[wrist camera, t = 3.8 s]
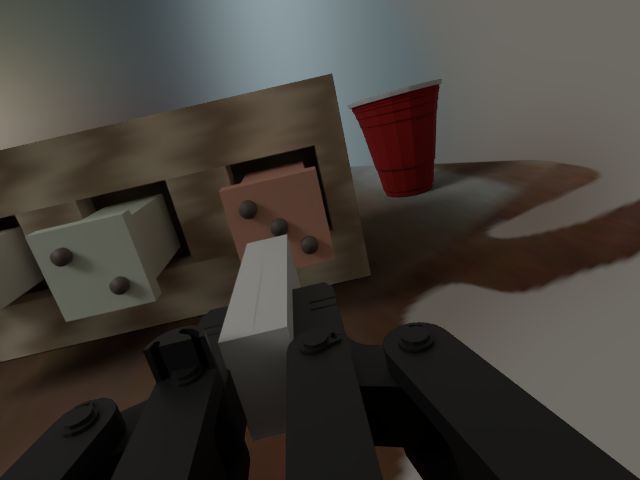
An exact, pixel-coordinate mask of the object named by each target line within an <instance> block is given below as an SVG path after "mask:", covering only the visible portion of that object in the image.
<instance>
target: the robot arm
mask: <svg viewBox="0 0 640 480" xmlns="http://www.w3.org/2000/svg"><path fill="white" fill-rule="evenodd" d="M143 352H144V354H145V357H146V359H147V361H148V364H149V366H150V368H151V371H152V373H153V375H154V378H155V380H156V385H155V387H154V389H153V391H152V393H151V395H150V398H149V399H148V400H146V401H144V402H142V403H139V404H137V405H135V406H133V407H130V408H128V409H126V410H123V411H121V412H120V411H119V409H118V407H117V405H116V403H115V402H114V401H113V400H112V399H107V398H100V399H95V400H90V401H87V402H84V404H83V403H82V404H80V405H78V406H76V407H74V408H73V409H72V410H70V411H69V412H67V413H66V414H64V415H63V416H62V417H61V418H59V419H58V420H57V421H56V422H55V423H54V424H53V425H52V426H51V427H50V428H49V429H48V430H47V431H46V432H45V433H44V434H43V435H42V436H41V437H40V438H39V439H38V440H37V441H36V442H35V443H34V444H33V445H32V446H31V447H30V448H29V449H28V450H27V451H26V452H25V453H24V454H23V455H22V456H21V457H20V458H19V459H18V460H17V461H16V462H15V463H14V464H13V465H12V466H11V467H10V468H9V469H8V470H7V471H6V472H5V473H4V474H3V475H2V476H1V477H0V480H248V477H249V467H250V456H249V451H248V448H247V445H246V443H245V440H244V439H245V431H246V424H247V427H248V430H249V433H250V436H251V438H252V441H257V440H261V439H265V438H269V437H274V436H278V435H282V434H286V480H383V478H382V474H381V471H380V467H379V463H378V459H377V455H376V451H375V447H374V446H387V447H403V448H404V451H405V453H406V456H407V457H408V459H409V460H410V462H411V463H412V465H413V466H414V467H415V469H416V470H417V472H418V473H419V475H420V476H421V478H422V479H423V480H640V479H639V478H637V477H636V476H635V475H634V474H632V473H631V472H630V471H629V470H627V469H626V468H625V467H623V466H622V465H621V464H619V463H618V462H617V461H616V460H614V459H613V458H611V457H610V456H609V455H608V454H606V453H605V452H604V451H602V450H601V449H600V448H599V447H597V446H596V445H595V444H593V443H592V442H591V441H589V440H588V439H587V438H586V437H584V436H583V435H582V434H580V433H579V432H578V431H576V430H575V429H574V428H572V427H571V426H570V425H569V424H567V423H566V422H565V421H563V420H562V419H561V418H560V417H558V416H557V415H556V414H554V413H553V412H552V411H550V410H549V409H548V408H546V407H545V406H544V405H543V404H541V403H540V402H539V401H537V400H536V399H535V398H534V397H532V396H531V395H530V394H528V393H527V392H526V391H524V390H523V389H522V388H520V387H519V386H518V385H517V384H515V383H514V382H513V381H511V380H510V379H509V378H507V377H506V376H505V375H504V374H502V373H501V372H500V371H498V370H497V369H496V368H494V367H493V366H492V365H491V364H489V363H488V362H487V361H485V360H484V359H483V358H481V357H480V356H479V355H478V354H476V353H475V352H474V351H472V350H471V349H470V348H468V347H467V346H466V345H465V344H463V343H462V342H461V341H459V340H458V339H457V338H455V337H454V336H453V335H451V334H450V333H449V332H447V331H446V330H445V329H443V328H441V327H439V326H437V325H435V324H429V323H424V322H423V323H420V322H417V323H409V324H406V325H402V326H399V327H397V328H395V329H393V330H392V331H390V332H389V333H388V334H387V336H386V337H385V338H384V342H383V345H364V344H359V343H356V342H354V341H352V340H351V339H349V338H348V337H347V335H346V333H345V331H344V327H343V323H342V320H341V316H340V312H339V308H338V304H337V300H336V296H335V292H334V288H333V287H332V286H330V285H329V284H327V283H326V282H322V283H318V284H313V285H309V286H305V287H301V286H300V282H299V279H298V275H297V271H296V267H295V263H294V259H293V256H292V252H291V248H290V244H289V240H288V236H287V234H286V235H282V236H277V237H273V238H269V239H265V240H260V241H256V242H252V243H247V245H246V249H245V252H244V256H243V259H242V262H241V266H240V269H239V273H238V276H237V279H236V283H235V286H234V290H233V293H232V297H231V300H230V303H229V306H225V307H221V308H217V309H213V310H210V311H209V312H208V313H207V314H206V315H205V316H204V317H203V318H202V319H201V320H200V321H199V323H198V326H195V325H190V326H183V327H179V328H176V329H173V330H170V331H168V332H166V333H164V334H162V335H160V336H158V337H157V338H155V339H154V340H153V341H151V342H150V343H149V344H148V345H147V346H146V347H145V348H144V350H143Z"/></svg>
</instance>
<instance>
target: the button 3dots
mask: <svg viewBox="0 0 640 480" xmlns="http://www.w3.org/2000/svg"><path fill="white" fill-rule="evenodd" d="M219 194H220V197H221V200H222V203H223V207H224V210H225V213H226V216H227V220H228V223H229V226H230V229H231V233H232V236H233V239H234V243H235V246H236V249H237V252H238V256H239V259H240V262H242V259H243V256H244V252H245V249H246V245H247V243H252V242H256V241H260V240H265V239H269V238H273V237H277V236H282V235H286V234H287V236H288V240H289V244H290V248H291V252H292V256H293V259H294V263H295V267H296V268H300V267H304V266H308V265H312V264H317V263H321V262H325V261H330V260H334V259H335V254H334V249H333V245H332V240H331V236H330V231H329V227H328V222H327V218H326V213H325V209H324V204H323V200H322V195H321V191H320V186H319V182H318V177H317V173H316V169H315V166H313V167H309V168H304V165H303V161H300V162H295V163H291V164H287V165H282V166H278V167H274V168H269V169H265V170H261V171H257V172H252V173H248V174H246V175H245V177H244V179H243V180H242V182H241V183H240V184H236V185H232V186H227V187H223V188H221V190H220V191H219Z"/></svg>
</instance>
